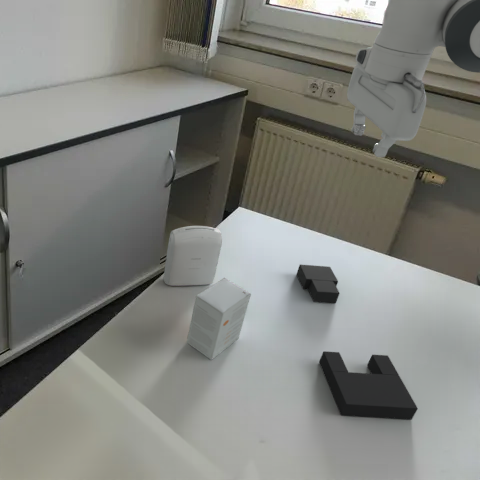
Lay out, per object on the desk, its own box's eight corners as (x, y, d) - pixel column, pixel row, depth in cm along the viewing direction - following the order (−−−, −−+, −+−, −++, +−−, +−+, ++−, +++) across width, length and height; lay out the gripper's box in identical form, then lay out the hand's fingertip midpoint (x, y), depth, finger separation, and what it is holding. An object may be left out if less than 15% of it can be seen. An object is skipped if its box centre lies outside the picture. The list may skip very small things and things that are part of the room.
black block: (296, 274, 112) (299, 264, 111) (326, 276, 112) (330, 266, 111) (308, 301, 105) (312, 291, 103) (340, 303, 105) (344, 293, 104)
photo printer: (165, 288, 104) (174, 234, 98) (160, 274, 108) (168, 221, 101) (215, 286, 106) (228, 233, 100) (209, 273, 110) (221, 221, 103)
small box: (213, 322, 97) (224, 276, 91) (239, 339, 94) (252, 292, 88) (185, 342, 92) (195, 294, 86) (211, 361, 89) (223, 312, 83)
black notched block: (318, 362, 91) (323, 351, 90) (382, 366, 92) (387, 355, 90) (341, 415, 82) (346, 404, 80) (411, 419, 82) (418, 408, 81)
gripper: (448, 86, 79) (411, 171, 87) (387, 51, 97) (361, 124, 104) (407, 83, 79) (374, 168, 87) (353, 47, 96) (330, 121, 104)
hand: (366, 144), depth 95 cm, fingers open, 8 cm apart
